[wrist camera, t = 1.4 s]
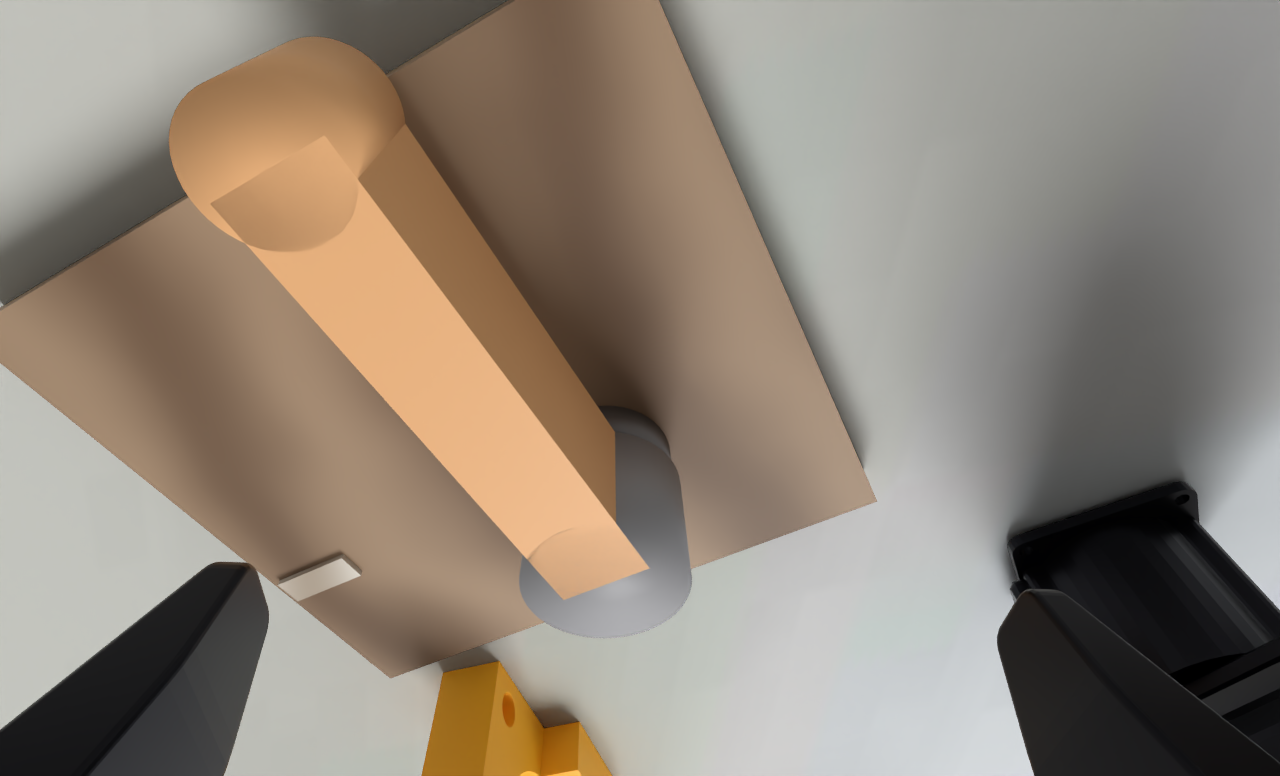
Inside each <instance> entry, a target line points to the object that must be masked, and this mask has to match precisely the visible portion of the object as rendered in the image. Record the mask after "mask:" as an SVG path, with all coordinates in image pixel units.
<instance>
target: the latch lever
mask: <svg viewBox="0 0 1280 776" xmlns="http://www.w3.org/2000/svg"><path fill="white" fill-rule="evenodd" d="M169 148H170V156H171V160H172V164H173V167H174V170H175V173H176V175H177V178H178V180H179V182H180V184H181V186H182V187H183V189H184V191H185V192H186V194H187V195H188V197H189V198H190V200H191V201H192V202H193V204H194V205H195V206H196V207H197V208H198V210H199V211H200V212H201V213H202V214H203V215H204V216H205V217H206V218H207V219H208V220H209V221H211V222H212V223H213V224H214V225H215V226H217V227H218V228H219V229H221V230H222V231H224V232H225V233H227V234H228V235H230V236H232V237H233V238H235V239H237V240H239V241H241V242H243V243H245V244H246V245H247V246H248V247H249V248H250V249H251V250H252V252H253V253H254V254H255V255H256V256H257V257H258V258H259V259H260V261H261V262H262V263H263V264H264V265H265V266H266V267H267V268H268V270H269V271H270V272H271V273H272V274H273V275H274V276H275V277H276V279H277V280H278V281H279V282H280V283H281V284H282V285H283V286H284V287H285V289H286V290H287V291H288V292H289V293H290V294H291V295H292V296H293V298H294V299H295V300H296V301H297V302H298V303H299V304H300V305H301V307H302V308H303V309H304V310H305V311H306V312H307V313H308V314H309V316H310V317H311V318H312V319H313V320H314V321H315V322H316V323H317V324H318V326H319V327H320V328H321V329H322V330H323V331H324V332H325V333H326V335H327V336H328V337H329V338H330V339H331V340H332V341H333V342H334V344H335V345H336V346H337V347H338V348H339V349H340V350H341V351H342V353H343V354H344V355H345V356H346V357H347V358H348V359H349V360H350V361H351V363H352V364H353V365H354V366H355V367H356V368H357V369H358V370H359V372H360V373H361V374H362V375H363V376H364V377H365V378H366V379H367V381H368V382H369V383H370V384H371V385H372V386H373V387H374V388H375V390H376V391H377V392H378V393H379V394H380V395H381V396H382V397H383V398H384V400H385V401H386V402H387V403H388V404H389V405H390V406H391V407H392V409H393V410H394V411H395V412H396V413H397V414H398V415H399V416H400V418H401V419H402V420H403V421H404V422H405V423H406V424H407V425H408V427H409V428H410V429H411V430H412V431H413V432H414V433H415V434H416V435H417V437H418V438H419V439H420V440H421V441H422V442H423V443H424V444H425V446H426V447H427V448H428V449H429V450H430V451H431V452H432V453H433V455H434V456H435V457H436V458H437V459H438V460H439V461H440V462H441V464H442V465H443V466H444V467H445V468H446V469H447V470H448V471H449V472H450V474H451V475H452V476H453V477H454V478H455V479H456V480H457V481H458V483H459V484H460V485H461V486H462V487H463V488H464V489H465V490H466V492H467V493H468V494H469V495H470V496H471V497H472V498H473V499H474V501H475V502H476V503H477V504H478V505H479V506H480V507H481V508H482V509H483V511H484V512H485V513H486V514H487V515H488V516H489V517H490V518H491V520H492V521H493V522H494V523H495V524H496V525H497V526H498V527H499V529H500V530H501V531H502V532H503V533H504V534H505V535H506V536H507V538H508V539H509V540H510V541H511V542H512V543H513V544H514V545H515V546H516V548H517V549H518V550H519V551H520V552H521V553H522V559H521V567H520V575H519V587H520V592H521V595H522V598H523V600H524V601H525V603H526V605H527V606H528V607H529V609H530V610H531V611H532V612H533V613H534V614H535V615H536V616H537V617H538V618H540V619H541V620H542V621H544V622H545V623H547V624H549V625H550V626H552V627H554V628H557V629H559V630H561V631H564V632H567V633H570V634H574V635H579V636H583V637H591V638H617V637H625V636H630V635H635V634H638V633H641V632H645V631H647V630H650V629H652V628H655V627H656V626H658V625H660V624H662V623H664V622H665V621H667V620H668V619H670V618H671V617H672V616H673V615H674V614H676V613H677V612H678V611H679V609H680V608H681V607H682V606H683V604H684V603H685V601H686V600H687V598H688V595H689V593H690V590H691V585H692V575H691V566H690V558H689V550H688V541H687V533H686V525H685V516H684V508H683V500H682V491H681V483H680V477H679V474H678V471H677V469H676V467H675V465H674V463H673V462H672V460H671V459H670V458H669V456H668V455H667V454H666V453H665V452H664V451H662V450H661V449H660V448H658V447H657V446H656V445H654V444H652V443H651V442H649V441H647V440H644V439H642V438H640V437H637V436H633V435H630V434H625V433H619V432H615V431H614V430H613V428H612V427H611V426H610V424H609V423H608V421H607V420H606V418H605V417H604V415H603V414H602V412H601V411H600V409H599V408H598V406H597V405H596V403H595V402H594V400H593V399H592V398H591V396H590V395H589V393H588V392H587V390H586V389H585V387H584V386H583V384H582V383H581V381H580V380H579V378H578V377H577V375H576V374H575V373H574V371H573V370H572V368H571V367H570V365H569V364H568V362H567V361H566V359H565V358H564V356H563V355H562V353H561V352H560V350H559V349H558V348H557V346H556V345H555V343H554V342H553V340H552V339H551V337H550V336H549V334H548V333H547V331H546V330H545V328H544V327H543V325H542V324H541V323H540V321H539V320H538V318H537V317H536V315H535V314H534V312H533V311H532V309H531V308H530V306H529V305H528V303H527V302H526V300H525V299H524V298H523V296H522V295H521V293H520V292H519V290H518V289H517V287H516V286H515V284H514V283H513V281H512V280H511V278H510V277H509V275H508V274H507V273H506V271H505V270H504V268H503V267H502V265H501V264H500V262H499V261H498V259H497V258H496V256H495V255H494V253H493V252H492V250H491V249H490V247H489V246H488V245H487V243H486V242H485V240H484V239H483V237H482V236H481V234H480V233H479V231H478V230H477V228H476V227H475V225H474V224H473V222H472V221H471V220H470V218H469V217H468V215H467V214H466V212H465V211H464V209H463V208H462V206H461V205H460V203H459V202H458V200H457V199H456V197H455V196H454V195H453V193H452V192H451V190H450V189H449V187H448V186H447V184H446V183H445V181H444V180H443V178H442V177H441V175H440V174H439V172H438V171H437V170H436V168H435V167H434V165H433V164H432V162H431V161H430V159H429V158H428V156H427V155H426V153H425V152H424V150H423V149H422V147H421V146H420V145H419V143H418V142H417V140H416V139H415V137H414V136H413V134H412V133H411V131H410V130H409V128H408V127H407V125H406V124H405V117H404V111H403V107H402V104H401V101H400V99H399V96H398V94H397V92H396V90H395V88H394V86H393V85H392V83H391V81H390V80H389V79H388V77H387V76H386V75H385V73H384V72H383V71H382V70H381V69H380V68H379V66H378V65H377V64H376V63H375V62H373V61H372V60H371V59H370V58H369V57H368V56H366V55H365V54H363V53H362V52H360V51H359V50H357V49H356V48H354V47H352V46H350V45H348V44H345V43H343V42H340V41H338V40H334V39H330V38H324V37H303V38H297V39H294V40H291V41H288V42H286V43H284V44H282V45H280V46H278V47H276V48H274V49H272V50H269V51H267V52H265V53H263V54H261V55H259V56H257V57H255V58H253V59H251V60H249V61H247V62H245V63H243V64H240V65H238V66H236V67H234V68H232V69H230V70H228V71H226V72H224V73H222V74H220V75H218V76H216V77H214V78H211V79H209V80H207V81H205V82H203V83H202V84H200V85H198V86H196V87H195V88H194V89H192V90H191V91H190V92H189V93H187V95H186V96H185V97H184V98H183V99H182V100H181V102H180V103H179V105H178V107H177V108H176V110H175V112H174V115H173V118H172V120H171V125H170V131H169Z"/></svg>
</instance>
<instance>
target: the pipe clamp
mask: <svg viewBox="0 0 1280 776" xmlns="http://www.w3.org/2000/svg"><path fill="white" fill-rule="evenodd" d="M422 776H612V774H611V773H610V771H609V770H608V768H607V766H606V765H605V763H604V761H603V760H602V758H601V756H600V755H599V753H598V751H597V750H596V748H595V746H594V745H593V743H592V741H591V740H590V738H589V737H588V735H587V733H586V732H585V730H584V728H583V727H582V725H581V723H580V722H575V723H570V724H564V725H559V726H554V727H549V728H543V726H542V725H541V723H540V722H539V720H538V719H537V717H536V716H535V714H534V713H533V711H532V710H531V708H530V707H529V705H528V704H527V702H526V701H525V699H524V698H523V696H522V695H521V693H520V692H519V690H518V689H517V687H516V686H515V684H514V683H513V681H512V679H511V678H510V676H509V675H508V673H507V672H506V670H505V669H504V667H503V666H502V664H501V663H500V661H497V662H492V663H488V664H483V665H478V666H473V667H468V668H463V669H459V670H454V671H449V672H444V673H443V676H442V681H441V686H440V690H439V695H438V700H437V705H436V709H435V714H434V719H433V724H432V728H431V733H430V738H429V743H428V747H427V752H426V757H425V762H424V766H423V771H422Z"/></svg>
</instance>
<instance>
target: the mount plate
mask: <svg viewBox="0 0 1280 776" xmlns="http://www.w3.org/2000/svg"><path fill="white" fill-rule="evenodd" d="M386 76H387V77H388V79H389V80H390V81H391V83H392V85H393V86H394V88H395V90H396V92H397V94H398V96H399V99H400V101H401V104H402V107H403V111H404V117H405V124H406V125H407V127H408V128H409V130H410V131H411V133H412V134H413V136H414V137H415V139H416V140H417V142H418V143H419V145H420V146H421V147H422V149H423V150H424V152H425V153H426V155H427V156H428V158H429V159H430V161H431V162H432V164H433V165H434V167H435V168H436V170H437V171H438V172H439V174H440V175H441V177H442V178H443V180H444V181H445V183H446V184H447V186H448V187H449V189H450V190H451V192H452V193H453V195H454V196H455V197H456V199H457V200H458V202H459V203H460V205H461V206H462V208H463V209H464V211H465V212H466V214H467V215H468V217H469V218H470V220H471V221H472V222H473V224H474V225H475V227H476V228H477V230H478V231H479V233H480V234H481V236H482V237H483V239H484V240H485V242H486V243H487V245H488V246H489V247H490V249H491V250H492V252H493V253H494V255H495V256H496V258H497V259H498V261H499V262H500V264H501V265H502V267H503V268H504V270H505V271H506V273H507V274H508V275H509V277H510V278H511V280H512V281H513V283H514V284H515V286H516V287H517V289H518V290H519V292H520V293H521V295H522V296H523V298H524V299H525V300H526V302H527V303H528V305H529V306H530V308H531V309H532V311H533V312H534V314H535V315H536V317H537V318H538V320H539V321H540V323H541V324H542V325H543V327H544V328H545V330H546V331H547V333H548V334H549V336H550V337H551V339H552V340H553V342H554V343H555V345H556V346H557V348H558V349H559V350H560V352H561V353H562V355H563V356H564V358H565V359H566V361H567V362H568V364H569V365H570V367H571V368H572V370H573V371H574V373H575V374H576V375H577V377H578V378H579V380H580V381H581V383H582V384H583V386H584V387H585V389H586V390H587V392H588V393H589V395H590V396H591V398H592V399H593V400H594V402H595V403H596V405H597V406H598V408H599V409H600V411H601V412H602V414H603V415H604V417H605V418H606V420H607V421H608V423H609V424H610V426H611V427H612V428H613V430H614V431H615V432H619V433H625V434H630V435H633V436H637V437H640V438H642V439H644V440H647V441H649V442H651V443H652V444H654V445H656V446H657V447H658V448H660V449H661V450H662V451H664V452H665V453H666V454H667V455H668V456H669V458H670V459H671V460H672V462H673V463H674V465H675V467H676V469H677V471H678V474H679V477H680V483H681V491H682V500H683V508H684V516H685V525H686V533H687V541H688V550H689V558H690V566H691V569H692V568H695V567H698V566H701V565H703V564H706V563H709V562H712V561H714V560H717V559H720V558H723V557H725V556H728V555H731V554H734V553H736V552H739V551H742V550H745V549H747V548H750V547H753V546H756V545H758V544H761V543H764V542H767V541H769V540H772V539H775V538H778V537H780V536H783V535H786V534H789V533H791V532H794V531H797V530H800V529H802V528H805V527H808V526H811V525H813V524H816V523H819V522H822V521H824V520H827V519H830V518H833V517H835V516H838V515H841V514H844V513H846V512H849V511H852V510H855V509H857V508H860V507H863V506H866V505H868V504H871V503H874V502H877V500H876V498H875V495H874V493H873V491H872V488H871V486H870V484H869V482H868V479H867V477H866V475H865V472H864V470H863V468H862V466H861V463H860V461H859V459H858V456H857V454H856V452H855V449H854V447H853V445H852V443H851V440H850V438H849V436H848V433H847V431H846V429H845V426H844V424H843V422H842V420H841V417H840V415H839V413H838V410H837V408H836V406H835V404H834V401H833V399H832V397H831V394H830V392H829V390H828V387H827V385H826V383H825V381H824V378H823V376H822V374H821V371H820V369H819V367H818V364H817V362H816V360H815V358H814V355H813V353H812V351H811V348H810V346H809V344H808V342H807V339H806V337H805V335H804V332H803V330H802V328H801V325H800V323H799V321H798V319H797V316H796V314H795V312H794V309H793V307H792V305H791V302H790V300H789V298H788V296H787V293H786V291H785V289H784V286H783V284H782V282H781V280H780V277H779V275H778V273H777V270H776V268H775V266H774V263H773V261H772V259H771V257H770V254H769V252H768V250H767V247H766V245H765V243H764V240H763V238H762V236H761V234H760V231H759V229H758V227H757V224H756V222H755V220H754V218H753V215H752V213H751V211H750V208H749V206H748V204H747V201H746V199H745V197H744V195H743V192H742V190H741V188H740V185H739V183H738V181H737V178H736V176H735V174H734V172H733V169H732V167H731V165H730V162H729V160H728V158H727V156H726V153H725V151H724V149H723V146H722V144H721V142H720V139H719V137H718V135H717V133H716V130H715V128H714V126H713V123H712V121H711V119H710V117H709V114H708V112H707V110H706V107H705V105H704V103H703V100H702V98H701V96H700V94H699V91H698V89H697V87H696V84H695V82H694V80H693V77H692V75H691V73H690V71H689V68H688V66H687V64H686V61H685V59H684V57H683V55H682V52H681V50H680V48H679V45H678V43H677V41H676V38H675V36H674V34H673V32H672V29H671V27H670V25H669V22H668V20H667V18H666V15H665V13H664V11H663V9H662V6H661V4H660V2H659V0H508V1H506V2H505V3H503V4H501V5H500V6H498V7H496V8H495V9H493V10H491V11H490V12H488V13H486V14H485V15H483V16H481V17H480V18H478V19H477V20H475V21H473V22H472V23H470V24H468V25H467V26H465V27H463V28H462V29H460V30H458V31H457V32H455V33H453V34H452V35H450V36H448V37H447V38H445V39H443V40H442V41H440V42H439V43H437V44H435V45H434V46H432V47H430V48H429V49H427V50H425V51H424V52H422V53H420V54H419V55H417V56H415V57H414V58H412V59H410V60H409V61H407V62H405V63H404V64H402V65H400V66H399V67H397V68H396V69H394V70H392V71H391V72H389V73H387V74H386ZM0 363H1V364H2V365H4V366H5V367H6V368H7V369H8V370H10V371H11V372H12V373H13V374H15V375H16V376H17V377H18V378H20V379H21V380H22V381H23V382H25V383H26V384H27V385H28V386H29V387H31V388H32V389H33V390H34V391H36V392H37V393H38V394H39V395H41V396H42V397H43V398H44V399H46V400H47V401H48V402H49V403H51V404H52V405H53V406H54V407H55V408H57V409H58V410H59V411H60V412H62V413H63V414H64V415H65V416H67V417H68V418H69V419H70V420H72V421H73V422H74V423H75V424H76V425H78V426H79V427H80V428H81V429H83V430H84V431H85V432H86V433H88V434H89V435H90V436H91V437H93V438H94V439H95V440H96V441H97V442H99V443H100V444H101V445H102V446H104V447H105V448H106V449H107V450H109V451H110V452H111V453H112V454H114V455H115V456H116V457H117V458H119V459H120V460H121V461H122V462H123V463H125V464H126V465H127V466H128V467H130V468H131V469H132V470H133V471H135V472H136V473H137V474H138V475H140V476H141V477H142V478H143V479H144V480H146V481H147V482H148V483H149V484H151V485H152V486H153V487H154V488H156V489H157V490H158V491H159V492H161V493H162V494H163V495H164V496H166V497H167V498H168V499H169V500H170V501H172V502H173V503H174V504H175V505H177V506H178V507H179V508H180V509H182V510H183V511H184V512H185V513H187V514H188V515H189V516H190V517H191V518H193V519H194V520H195V521H196V522H198V523H199V524H200V525H201V526H203V527H204V528H205V529H206V530H208V531H209V532H210V533H211V534H213V535H214V536H215V537H216V538H217V539H219V540H220V541H221V542H222V543H224V544H225V545H226V546H227V547H229V548H230V549H231V550H232V551H234V552H235V553H236V554H237V555H238V556H240V557H241V558H242V559H243V560H245V561H246V562H247V563H250V564H251V565H253V566H254V567H255V569H256V570H257V571H258V572H260V573H261V574H262V575H263V576H264V577H266V578H267V579H268V580H269V581H271V582H272V583H273V584H274V585H276V586H277V587H278V588H279V589H281V590H282V591H283V592H284V593H285V594H287V595H288V596H289V597H290V598H292V599H293V600H294V601H295V602H297V603H298V604H299V605H300V606H302V607H303V608H304V609H305V610H307V611H308V612H309V613H310V614H311V615H313V616H314V617H315V618H316V619H318V620H319V621H320V622H321V623H323V624H324V625H325V626H326V627H328V628H329V629H330V630H331V631H332V632H334V633H335V634H336V635H337V636H339V637H340V638H341V639H342V640H344V641H345V642H346V643H347V644H349V645H350V646H351V647H352V648H354V649H355V650H356V651H357V652H358V653H360V654H361V655H362V656H363V657H365V658H366V659H367V660H368V661H370V662H371V663H372V664H373V665H375V666H376V667H377V668H378V669H379V670H381V671H382V672H383V673H384V674H386V675H387V676H388V677H389V678H393V677H395V676H398V675H401V674H404V673H406V672H409V671H412V670H415V669H417V668H420V667H423V666H426V665H428V664H431V663H434V662H437V661H439V660H442V659H445V658H448V657H450V656H453V655H456V654H459V653H461V652H464V651H467V650H470V649H472V648H475V647H478V646H481V645H483V644H486V643H489V642H492V641H494V640H497V639H500V638H503V637H505V636H508V635H511V634H514V633H516V632H519V631H522V630H525V629H527V628H530V627H533V626H536V625H538V624H541V623H544V621H542V620H541V619H540V618H538V617H537V616H536V615H535V614H534V613H533V612H532V611H531V610H530V609H529V607H528V606H527V605H526V603H525V601H524V600H523V598H522V595H521V592H520V587H519V575H520V567H521V559H522V553H521V552H520V551H519V550H518V549H517V548H516V546H515V545H514V544H513V543H512V542H511V541H510V540H509V539H508V538H507V536H506V535H505V534H504V533H503V532H502V531H501V530H500V529H499V527H498V526H497V525H496V524H495V523H494V522H493V521H492V520H491V518H490V517H489V516H488V515H487V514H486V513H485V512H484V511H483V509H482V508H481V507H480V506H479V505H478V504H477V503H476V502H475V501H474V499H473V498H472V497H471V496H470V495H469V494H468V493H467V492H466V490H465V489H464V488H463V487H462V486H461V485H460V484H459V483H458V481H457V480H456V479H455V478H454V477H453V476H452V475H451V474H450V472H449V471H448V470H447V469H446V468H445V467H444V466H443V465H442V464H441V462H440V461H439V460H438V459H437V458H436V457H435V456H434V455H433V453H432V452H431V451H430V450H429V449H428V448H427V447H426V446H425V444H424V443H423V442H422V441H421V440H420V439H419V438H418V437H417V435H416V434H415V433H414V432H413V431H412V430H411V429H410V428H409V427H408V425H407V424H406V423H405V422H404V421H403V420H402V419H401V418H400V416H399V415H398V414H397V413H396V412H395V411H394V410H393V409H392V407H391V406H390V405H389V404H388V403H387V402H386V401H385V400H384V398H383V397H382V396H381V395H380V394H379V393H378V392H377V391H376V390H375V388H374V387H373V386H372V385H371V384H370V383H369V382H368V381H367V379H366V378H365V377H364V376H363V375H362V374H361V373H360V372H359V370H358V369H357V368H356V367H355V366H354V365H353V364H352V363H351V361H350V360H349V359H348V358H347V357H346V356H345V355H344V354H343V353H342V351H341V350H340V349H339V348H338V347H337V346H336V345H335V344H334V342H333V341H332V340H331V339H330V338H329V337H328V336H327V335H326V333H325V332H324V331H323V330H322V329H321V328H320V327H319V326H318V324H317V323H316V322H315V321H314V320H313V319H312V318H311V317H310V316H309V314H308V313H307V312H306V311H305V310H304V309H303V308H302V307H301V305H300V304H299V303H298V302H297V301H296V300H295V299H294V298H293V296H292V295H291V294H290V293H289V292H288V291H287V290H286V289H285V287H284V286H283V285H282V284H281V283H280V282H279V281H278V280H277V279H276V277H275V276H274V275H273V274H272V273H271V272H270V271H269V270H268V268H267V267H266V266H265V265H264V264H263V263H262V262H261V261H260V259H259V258H258V257H257V256H256V255H255V254H254V253H253V252H252V250H251V249H250V248H249V247H248V246H247V245H246V244H245V243H243V242H241V241H239V240H237V239H235V238H233V237H232V236H230V235H228V234H227V233H225V232H224V231H222V230H221V229H219V228H218V227H217V226H215V225H214V224H213V223H212V222H211V221H209V220H208V219H207V218H206V217H205V216H204V215H203V214H202V213H201V212H200V211H199V210H198V208H197V207H196V206H195V205H194V204H193V202H192V201H191V200H190V198H189V197H188V195H186V196H184V197H182V198H181V199H179V200H177V201H176V202H174V203H172V204H171V205H169V206H167V207H166V208H164V209H163V210H161V211H159V212H158V213H156V214H154V215H153V216H151V217H149V218H148V219H146V220H144V221H143V222H141V223H139V224H138V225H136V226H134V227H133V228H131V229H129V230H128V231H126V232H125V233H123V234H121V235H120V236H118V237H116V238H115V239H113V240H111V241H110V242H108V243H106V244H105V245H103V246H101V247H100V248H98V249H96V250H95V251H93V252H91V253H90V254H88V255H87V256H85V257H83V258H82V259H80V260H78V261H77V262H75V263H73V264H72V265H70V266H68V267H67V268H65V269H63V270H62V271H60V272H58V273H57V274H55V275H53V276H52V277H50V278H48V279H47V280H45V281H44V282H42V283H40V284H39V285H37V286H35V287H34V288H32V289H30V290H29V291H27V292H25V293H24V294H22V295H20V296H19V297H17V298H15V299H14V300H12V301H10V302H9V303H7V304H6V305H4V306H2V307H1V308H0Z"/></svg>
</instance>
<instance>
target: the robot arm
mask: <svg viewBox="0 0 1280 776" xmlns="http://www.w3.org/2000/svg"><path fill="white" fill-rule="evenodd" d="M1008 551H1009V554H1010V557H1011V561H1012V564H1013V567H1014V571H1015V574H1016V577H1017V580H1018V581H1015V582H1013V583H1012V585H1011V588H1010V590H1011V594H1012V597H1013V600H1014V605H1013V607H1012V608H1011V610H1010V612H1009V613H1008V615H1007V617H1006V618H1005V620H1004V621H1003V623H1002V625H1001V626H1000V628H999V631H998V635H997V645H998V651H999V655H1000V658H1001V662H1002V666H1003V669H1004V673H1005V676H1006V680H1007V683H1008V687H1009V690H1010V694H1011V697H1012V701H1013V704H1014V708H1015V711H1016V715H1017V719H1018V722H1019V726H1020V729H1021V733H1022V736H1023V740H1024V743H1025V747H1026V750H1027V754H1028V757H1029V760H1030V763H1031V766H1032V770H1033V773H1034V776H1280V610H1279V609H1278V608H1277V607H1276V606H1275V605H1274V604H1273V602H1272V601H1271V600H1270V599H1269V598H1268V597H1267V596H1266V595H1265V594H1264V593H1263V592H1262V591H1261V589H1260V588H1259V587H1258V586H1257V585H1256V584H1255V583H1254V582H1253V581H1252V580H1251V579H1250V578H1249V577H1248V575H1247V574H1246V573H1245V572H1244V571H1243V570H1242V569H1241V568H1240V567H1239V566H1238V565H1237V564H1236V563H1235V561H1234V560H1233V559H1232V558H1231V557H1230V556H1229V555H1228V554H1227V553H1226V552H1225V551H1224V550H1223V549H1222V547H1221V546H1220V545H1219V544H1218V543H1217V542H1216V541H1215V540H1214V539H1213V538H1212V537H1211V536H1210V534H1209V533H1208V532H1207V531H1206V530H1205V529H1204V528H1203V527H1202V526H1201V525H1200V524H1199V513H1198V499H1197V493H1196V491H1195V490H1194V489H1193V488H1192V487H1191V486H1190V485H1189V484H1188V483H1186V482H1176V483H1172V484H1169V485H1166V486H1163V487H1161V488H1158V489H1155V490H1152V491H1149V492H1146V493H1143V494H1140V495H1137V496H1134V497H1131V498H1128V499H1125V500H1122V501H1119V502H1116V503H1113V504H1110V505H1107V506H1104V507H1101V508H1098V509H1095V510H1092V511H1089V512H1086V513H1083V514H1080V515H1077V516H1074V517H1071V518H1068V519H1065V520H1062V521H1059V522H1056V523H1054V524H1051V525H1048V526H1045V527H1042V528H1039V529H1036V530H1033V531H1030V532H1027V533H1024V534H1021V535H1018V536H1016V537H1014V538H1013V539H1011V540H1010V541H1009V543H1008ZM268 623H269V611H268V606H267V603H266V600H265V596H264V593H263V590H262V586H261V583H260V580H259V577H258V573H257V571H256V569H255V567H254V566H253V565H251V564H250V563H241V562H215V563H212V564H210V565H208V566H206V567H205V568H204V569H202V570H201V571H200V572H198V573H197V574H196V575H195V576H193V577H192V578H191V579H190V580H188V581H187V582H186V583H185V584H183V585H182V586H181V587H180V588H178V589H177V590H176V591H174V592H173V593H172V594H171V595H169V596H168V597H167V598H166V599H164V600H163V601H162V602H161V603H159V604H158V605H157V606H156V607H154V608H153V609H152V610H151V611H149V612H148V613H147V614H145V615H144V616H143V617H142V618H140V619H139V620H138V621H137V622H135V623H134V624H133V625H132V626H130V627H129V628H128V629H127V630H125V631H124V632H123V633H122V634H120V635H119V636H118V637H116V638H115V639H114V640H113V641H111V642H110V643H109V644H108V645H106V646H105V647H104V648H103V649H101V650H100V651H99V652H98V653H96V654H95V655H94V656H93V657H91V658H90V659H89V660H87V661H86V662H85V663H84V664H82V665H81V666H80V667H79V668H77V669H76V670H75V671H74V672H72V673H71V674H70V675H69V676H67V677H66V678H65V679H64V680H62V681H61V682H60V683H58V684H57V685H56V686H55V687H53V688H52V689H51V690H50V691H48V692H47V693H46V694H45V695H43V696H42V697H41V698H40V699H38V700H37V701H36V702H35V703H33V704H32V705H31V706H29V707H28V708H27V709H26V710H24V711H23V712H22V713H21V714H19V715H18V716H17V717H16V718H14V719H13V720H12V721H11V722H9V723H8V724H7V725H6V726H4V727H3V728H2V729H0V776H224V773H225V771H226V768H227V765H228V762H229V759H230V756H231V753H232V749H233V746H234V743H235V740H236V736H237V733H238V729H239V726H240V722H241V719H242V716H243V712H244V709H245V705H246V702H247V698H248V695H249V691H250V688H251V685H252V681H253V678H254V674H255V671H256V667H257V664H258V660H259V657H260V654H261V650H262V647H263V643H264V640H265V636H266V633H267V629H268Z"/></svg>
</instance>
